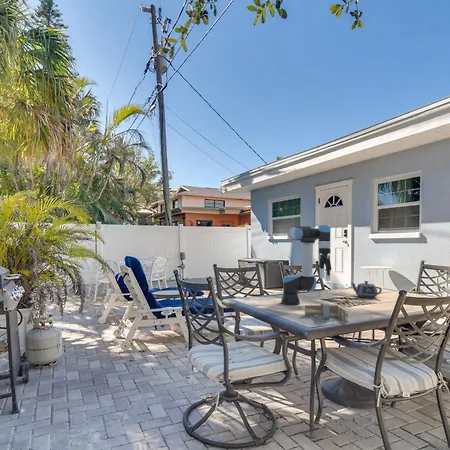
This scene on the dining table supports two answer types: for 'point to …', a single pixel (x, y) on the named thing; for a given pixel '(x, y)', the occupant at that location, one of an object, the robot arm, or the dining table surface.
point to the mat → (320, 320)
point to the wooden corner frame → (333, 311)
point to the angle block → (323, 312)
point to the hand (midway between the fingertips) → (324, 279)
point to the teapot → (366, 290)
